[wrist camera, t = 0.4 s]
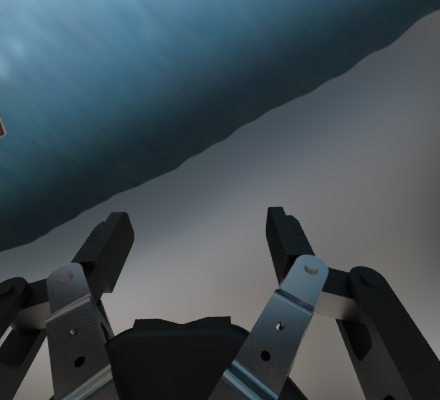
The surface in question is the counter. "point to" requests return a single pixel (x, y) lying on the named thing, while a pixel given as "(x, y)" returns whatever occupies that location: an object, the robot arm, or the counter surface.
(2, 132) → the food container
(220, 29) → the counter surface
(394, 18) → the counter surface
